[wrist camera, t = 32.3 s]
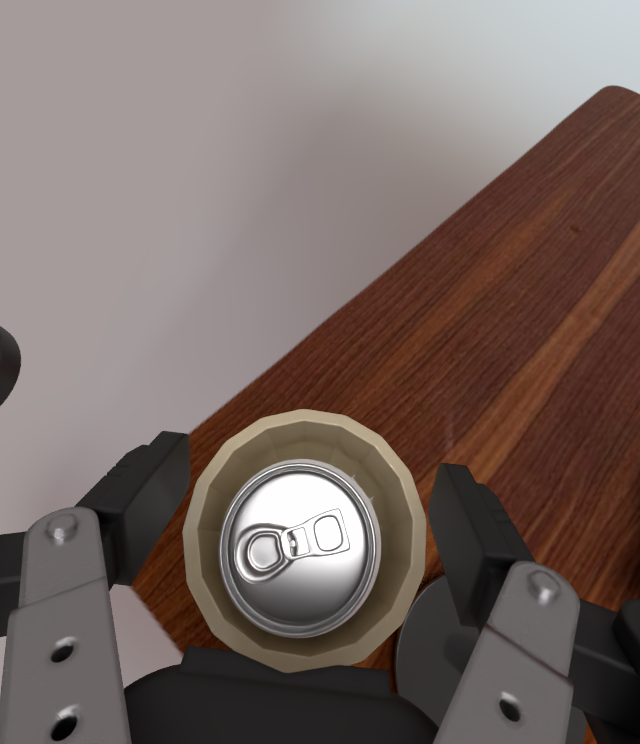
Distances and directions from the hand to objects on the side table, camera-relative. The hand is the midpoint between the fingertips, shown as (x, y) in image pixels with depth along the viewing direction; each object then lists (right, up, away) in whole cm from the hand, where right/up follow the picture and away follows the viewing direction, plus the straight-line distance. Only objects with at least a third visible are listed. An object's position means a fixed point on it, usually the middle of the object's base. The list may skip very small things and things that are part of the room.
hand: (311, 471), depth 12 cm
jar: (-1, -8, +13) cm, 15 cm away
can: (0, -7, +13) cm, 15 cm away
